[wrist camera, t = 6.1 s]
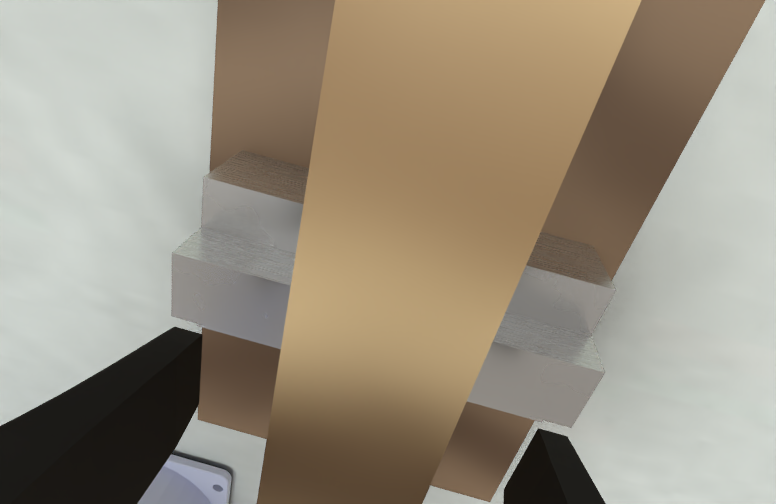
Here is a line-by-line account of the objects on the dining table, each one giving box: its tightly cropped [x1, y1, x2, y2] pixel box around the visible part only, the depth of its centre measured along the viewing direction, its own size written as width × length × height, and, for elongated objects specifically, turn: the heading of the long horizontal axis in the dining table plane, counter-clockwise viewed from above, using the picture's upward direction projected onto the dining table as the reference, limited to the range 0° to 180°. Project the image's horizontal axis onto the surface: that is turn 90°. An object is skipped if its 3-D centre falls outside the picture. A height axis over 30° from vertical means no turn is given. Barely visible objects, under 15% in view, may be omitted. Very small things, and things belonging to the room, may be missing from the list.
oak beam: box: [257, 0, 641, 504], centre depth 11 cm, size 22×3×4 cm, turn 167°
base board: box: [198, 0, 765, 502], centre depth 16 cm, size 20×13×1 cm, turn 167°
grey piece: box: [172, 150, 616, 428], centre depth 14 cm, size 5×11×4 cm, turn 77°
